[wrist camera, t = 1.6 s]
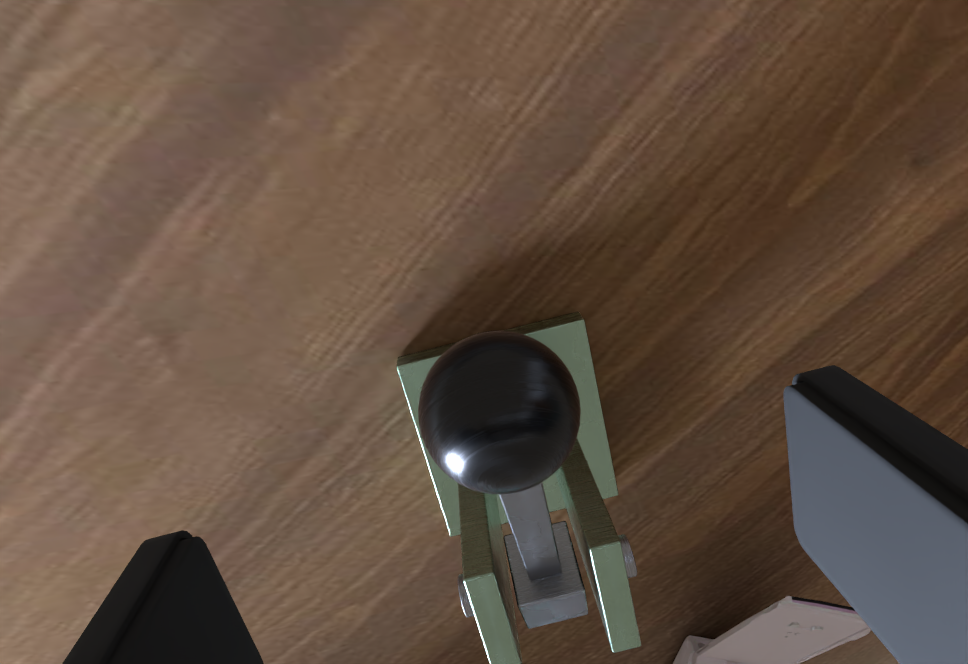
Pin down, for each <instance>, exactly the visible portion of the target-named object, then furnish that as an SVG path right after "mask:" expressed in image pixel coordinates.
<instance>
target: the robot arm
mask: <svg viewBox="0 0 968 664" xmlns="http://www.w3.org/2000/svg"><path fill="white" fill-rule="evenodd" d="M784 409H785V421H786V434H787V446H788V458H789V471H790V483H791V495H792V508H793V520H794V528H795V532H796V535H797V538H798V540H799V542H800V544H801V546H802V547H803V549H804V550H805V551H806V553H807V554H808V555H809V556H810V557H811V559H812V560H813V561H814V562H815V563H816V565H817V566H818V567H819V568H820V569H821V570H822V572H823V573H824V574H825V575H826V576H827V578H828V579H829V580H830V581H831V582H832V584H833V585H834V586H835V587H836V588H837V590H838V591H839V592H840V593H841V594H842V595H843V597H844V598H845V599H846V600H847V601H848V603H849V604H850V605H851V606H852V607H853V609H854V610H855V611H856V612H857V613H858V614H859V616H860V617H861V618H862V619H863V620H864V622H865V623H866V624H867V625H868V626H869V628H870V629H871V630H872V631H873V632H874V634H875V635H876V636H877V637H878V638H879V639H880V641H881V642H882V643H883V644H884V645H885V647H886V648H887V649H888V650H889V651H890V653H891V654H892V655H893V656H894V657H895V658H896V660H897V661H898V662H899V663H900V664H968V449H966V448H965V447H963V446H962V445H960V444H958V443H957V442H955V441H954V440H952V439H951V438H949V437H948V436H946V435H944V434H943V433H941V432H940V431H938V430H937V429H935V428H933V427H932V426H930V425H929V424H927V423H926V422H924V421H922V420H921V419H919V418H918V417H916V416H915V415H913V414H912V413H910V412H908V411H907V410H905V409H904V408H902V407H901V406H899V405H897V404H896V403H894V402H893V401H891V400H890V399H888V398H887V397H885V396H883V395H882V394H880V393H879V392H877V391H876V390H874V389H872V388H871V387H869V386H868V385H866V384H865V383H863V382H862V381H860V380H858V379H857V378H855V377H854V376H852V375H851V374H849V373H847V372H846V371H844V370H843V369H841V368H840V367H837V366H835V365H832V366H827V367H823V368H819V369H815V370H811V371H807V372H804V373H800V374H796V375H795V376H794V378H793V381H792V385H790V386H787V387H786V388H785V389H784ZM63 664H264V663H263V661H262V658H261V656H260V654H259V652H258V650H257V648H256V646H255V644H254V642H253V640H252V638H251V636H250V633H249V631H248V629H247V627H246V625H245V623H244V621H243V619H242V617H241V615H240V613H239V611H238V609H237V607H236V605H235V603H234V601H233V599H232V597H231V595H230V593H229V591H228V589H227V586H226V584H225V582H224V580H223V578H222V576H221V574H220V572H219V570H218V568H217V566H216V564H215V562H214V560H213V558H212V556H211V554H210V552H209V550H208V548H207V546H206V544H205V542H204V541H203V539H201V538H200V537H192V535H191V534H190V533H188V532H187V531H179V532H175V533H171V534H167V535H163V536H159V537H155V538H151V539H148V540H145V541H144V542H143V543H142V544H141V545H140V547H139V548H138V550H137V552H136V553H135V555H134V556H133V558H132V559H131V561H130V562H129V564H128V565H127V567H126V568H125V570H124V571H123V573H122V574H121V576H120V577H119V579H118V580H117V582H116V583H115V585H114V586H113V588H112V589H111V591H110V592H109V594H108V595H107V597H106V598H105V600H104V601H103V603H102V604H101V606H100V608H99V609H98V611H97V612H96V614H95V615H94V617H93V618H92V620H91V621H90V623H89V624H88V626H87V627H86V629H85V630H84V632H83V633H82V635H81V636H80V638H79V639H78V641H77V642H76V644H75V645H74V647H73V648H72V650H71V651H70V653H69V654H68V656H67V657H66V659H65V661H64V662H63Z"/></svg>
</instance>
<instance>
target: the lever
mask: <svg viewBox="0 0 968 664" xmlns="http://www.w3.org/2000/svg"><path fill="white" fill-rule="evenodd" d="M580 415H581V408H580V399H579V395H578V391H577V387H576V384H575V382H574V380H573V377H572V375H571V373H570V371H569V370H568V368H567V367H566V365H565V364H564V363H563V361H562V360H561V359H560V358H559V357H558V356H557V354H556V353H554V352H553V351H552V350H551V349H550V348H548V347H547V346H546V345H544V344H543V343H541V342H539V341H537V340H536V339H534V338H532V337H529V336H527V335H523V334H520V333H516V332H511V331H488V332H482V333H478V334H475V335H472V336H469V337H467V338H465V339H463V340H461V341H459V342H457V343H456V344H454V345H452V346H451V347H450V348H449V349H447V350H446V351H445V352H444V353H443V354H442V355H441V356H440V357H439V358H438V359H437V361H436V362H435V363H434V365H433V366H432V367H431V369H430V371H429V372H428V374H427V376H426V379H425V381H424V383H423V386H422V389H421V393H420V398H419V406H418V418H419V427H420V432H421V436H422V438H423V441H424V444H425V446H426V449H427V450H428V452H429V454H430V456H431V457H432V459H433V460H434V462H435V463H436V464H437V465H438V467H439V468H440V469H441V470H442V471H443V472H444V473H446V474H447V475H448V476H449V477H450V478H451V479H453V480H455V481H456V482H458V483H459V484H461V485H463V486H465V487H467V488H469V489H472V490H475V491H478V492H483V493H487V494H499V496H500V499H501V502H502V505H503V507H504V510H505V513H506V516H507V519H508V521H509V524H510V527H511V530H512V532H513V534H509V535H505V536H504V543H505V547H506V552H507V557H508V562H509V567H510V571H511V576H512V581H513V586H514V591H515V595H516V600H517V605H518V608H519V610H520V612H521V614H522V617H523V619H524V621H525V623H526V625H527V627H528V628H529V629H530V628H534V627H538V626H542V625H546V624H550V623H555V622H559V621H563V620H567V619H571V618H575V617H579V616H583V615H587V614H588V607H587V601H586V594H585V588H584V585H583V581H582V577H581V574H580V570H579V567H578V563H577V559H576V556H575V552H574V549H573V545H572V541H571V538H570V534H569V531H568V527H567V523H566V522H565V521H562V522H558V523H553V524H552V523H551V518H550V514H549V509H548V505H547V501H546V496H545V492H544V487H543V483H542V482H544V481H545V480H546V479H548V478H549V477H550V476H551V475H553V474H554V473H555V472H556V471H557V470H558V469H559V468H560V467H561V465H562V464H563V463H564V462H565V460H566V459H567V457H568V456H569V454H570V452H571V451H572V449H573V446H574V444H575V441H576V439H577V435H578V431H579V426H580Z"/></svg>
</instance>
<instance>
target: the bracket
mask: <svg viewBox="0 0 968 664" xmlns="http://www.w3.org/2000/svg"><path fill="white" fill-rule="evenodd" d="M504 331H511V332H516V333H520V334H523V335H527V336H529V337H532V338H534V339H536V340H537V341H539V342H541V343H543V344H544V345H546V346H547V347H548V348H550V349H551V350H552V351H553V352H554V353H556V354H557V356H558V357H559V358H560V359H561V360H562V361H563V363H564V364H565V365H566V367H567V368H568V370H569V371H570V373H571V375H572V377H573V380H574V382H575V384H576V387H577V391H578V395H579V399H580V408H581V415H580V426H579V431H578V435H577V439H576V441H575V444H574V446H573V449H572V451H571V452H570V454H569V456H568V457H567V459H566V460H565V462H564V463H563V464H562V465H561V467H560V468H559V469H558V470H557V471H556V472H555V473H554V474H553V475H551V476H550V477H549V478H548V479H546V480H545V481H544V482H542V483H543V487H544V492H545V496H546V501H547V505H548V509H549V512H553V511H557V510H561V509H565V508H566V509H567V513H568V516H569V519H570V522H571V525H572V528H573V531H574V534H575V538H576V541H577V544H578V547H579V550H580V553H581V556H582V559H583V563H584V566H585V569H586V572H587V575H588V578H589V581H590V584H591V588H592V591H593V594H594V597H595V600H596V603H597V606H598V609H599V613H600V616H601V619H602V622H603V625H604V628H605V631H606V634H607V638H608V641H609V644H610V647H611V650H612V652H613V653H616V652H620V651H624V650H628V649H632V648H636V647H640V646H641V641H640V636H639V631H638V626H637V621H636V616H635V611H634V606H633V601H632V596H631V591H630V586H629V581H628V578H631V577H635V576H637V568H636V563H635V559H634V556H633V552H632V549H631V546H630V544H629V541H628V539H627V537H626V535H624V534H623V535H619V536H618V534H617V532H616V530H615V527H614V525H613V523H612V520H611V518H610V515H609V513H608V511H607V508H606V506H605V503H604V501H603V499H605V498H609V497H613V496H617V495H618V489H617V484H616V479H615V474H614V469H613V464H612V459H611V454H610V448H609V443H608V438H607V433H606V428H605V423H604V418H603V413H602V407H601V402H600V397H599V392H598V387H597V382H596V377H595V372H594V367H593V361H592V356H591V351H590V346H589V341H588V336H587V331H586V326H585V321H584V319H583V317H582V316H581V314H580V313H579V312H575V313H571V314H567V315H563V316H559V317H555V318H551V319H547V320H543V321H539V322H535V323H531V324H527V325H523V326H519V327H516V328H512V329H508V330H504ZM456 343H457V342H456ZM456 343H452V344H448V345H444V346H440V347H436V348H432V349H428V350H424V351H420V352H416V353H413V354H409V355H405V356H401V357H398V360H397V370H398V374H399V377H400V380H401V383H402V386H403V389H404V392H405V395H406V399H407V402H408V405H409V408H410V411H411V414H412V417H413V421H414V424H415V427H416V430H417V433H418V436H419V439H420V442H421V446H422V449H423V452H424V455H425V458H426V461H427V464H428V468H429V471H430V474H431V477H432V480H433V483H434V486H435V489H436V493H437V496H438V499H439V502H440V505H441V508H442V511H443V514H444V518H445V521H446V524H447V527H448V530H449V533H450V536H451V537H452V536H456V535H460V534H461V550H462V567H463V574H460V575H459V576H458V590H459V596H460V600H461V605H462V608H463V611H464V614H465V616H466V617H472V616H475V619H476V622H477V625H478V629H479V632H480V635H481V638H482V641H483V644H484V647H485V650H486V654H487V657H488V660H489V663H490V664H523V663H522V657H521V650H520V644H519V637H518V631H517V624H516V618H515V612H514V605H513V599H512V592H511V586H510V579H509V573H508V566H507V560H506V553H505V547H504V540H503V534H502V527H501V524H504V523H508V522H509V521H508V519H507V516H506V513H505V510H504V507H503V505H502V502H501V499H500V496H499V494H487V493H483V492H478V491H475V490H472V489H469V488H467V487H465V486H463V485H461V484H459V483H458V482H456V481H455V480H453V479H451V478H450V477H449V476H448V475H447V474H446V473H444V472H443V471H442V470H441V469H440V468H439V467H438V465H437V464H436V463H435V462H434V460H433V459H432V457H431V456H430V454H429V452H428V450H427V449H426V446H425V444H424V441H423V438H422V436H421V432H420V427H419V418H418V406H419V398H420V393H421V389H422V386H423V383H424V381H425V379H426V376H427V374H428V372H429V371H430V369H431V367H432V366H433V365H434V363H435V362H436V361H437V359H438V358H439V357H440V356H441V355H442V354H443V353H444V352H445V351H446V350H447V349H449V348H450V347H451V346H452V345H454V344H456Z"/></svg>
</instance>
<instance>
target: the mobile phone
mask: <svg viewBox="0 0 968 664" xmlns="http://www.w3.org/2000/svg"><path fill="white" fill-rule="evenodd" d="M869 631H871V629H870V628H869V626H868V625H867V624H866V623H865V622H864V620H863V619H862V618H861V617H860V616H859V614H858V613H857V612H856V611H855V610H854V609H853V608H852V607H847V606H842V605H837V604H832V603H828V602H823V601H817V600H810V599H804V598H798V597H792V596H787V597H785V598H784V599H782V600H780V601H778V602H776V603H774V604H773V605H771V606H769V607H768V608H766V609H764V610H762V611H761V612H759V613H757V614H755V615H753V616H752V617H750V618H748V619H746V620H745V621H743V622H741V623H740V624H738V625H736V626H735V627H733V628H732V629H730V630H729V631H727V632H725V633H724V634H722V635H721V636H719V637H718V638H716V639H708V638H702V637H697V636H691V635H689V636H688V637H686V639H685V640H684V642H683V644H682V646H681V648H680V650H679V652H678V654H677V656H676V658H675V660H674V662H673V664H800V663H802V662H804V661H806V660H809V659H811V658H813V657H815V656H817V655H820V654H822V653H824V652H826V651H828V650H831V649H833V648H835V647H837V646H839V645H842V644H844V643H846V642H848V641H854V640H857V639H859V638H861V637H863V636H865V635H867V634H869V633H870V632H869Z"/></svg>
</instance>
